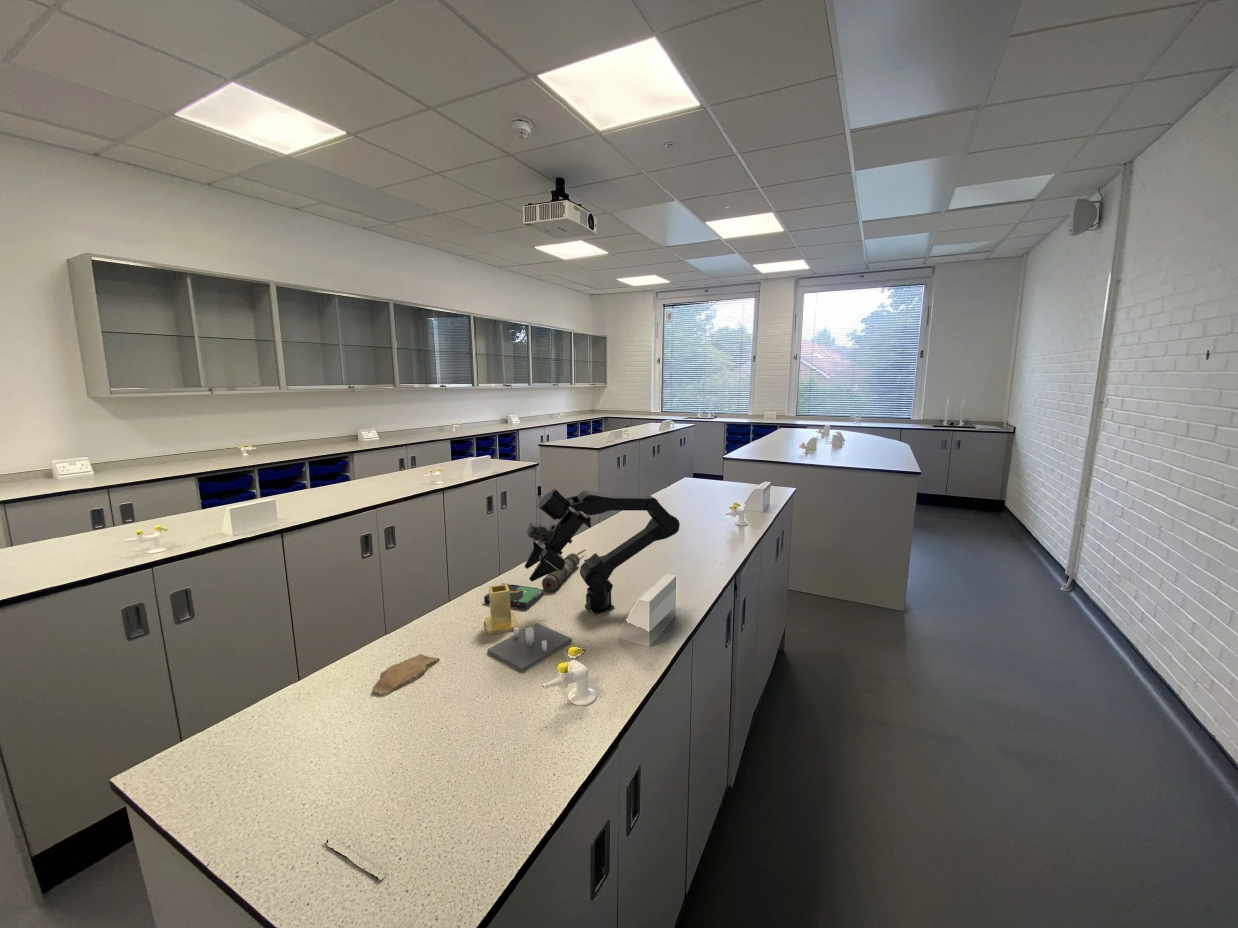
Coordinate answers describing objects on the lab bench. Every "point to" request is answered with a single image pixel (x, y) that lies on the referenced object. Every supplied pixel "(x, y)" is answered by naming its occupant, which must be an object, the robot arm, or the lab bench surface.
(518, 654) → the base plate
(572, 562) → the bomb
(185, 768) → the lab bench surface
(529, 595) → the disk drive
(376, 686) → the pottery shard
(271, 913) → the lab bench surface
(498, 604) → the brass sleeve
